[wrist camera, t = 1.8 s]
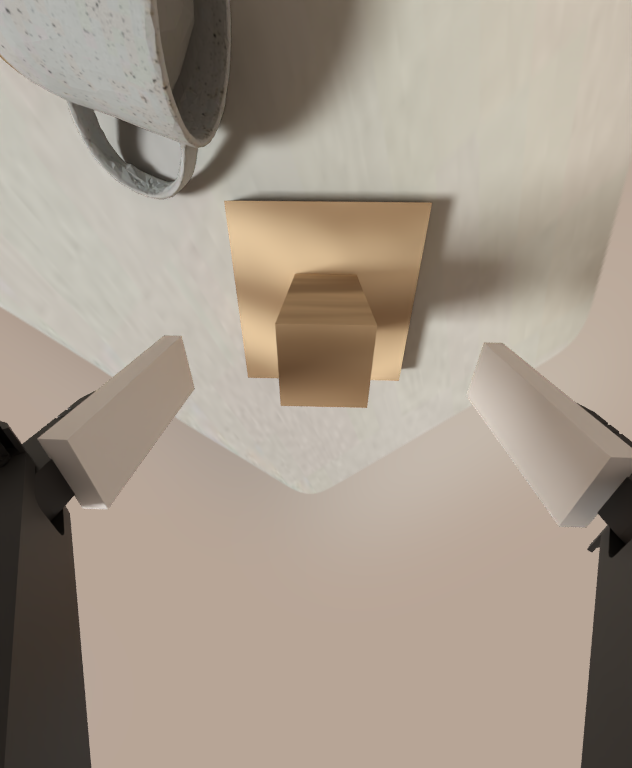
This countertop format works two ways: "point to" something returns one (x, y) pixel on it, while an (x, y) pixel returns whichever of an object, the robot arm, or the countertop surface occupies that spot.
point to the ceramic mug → (127, 70)
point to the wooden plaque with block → (326, 293)
